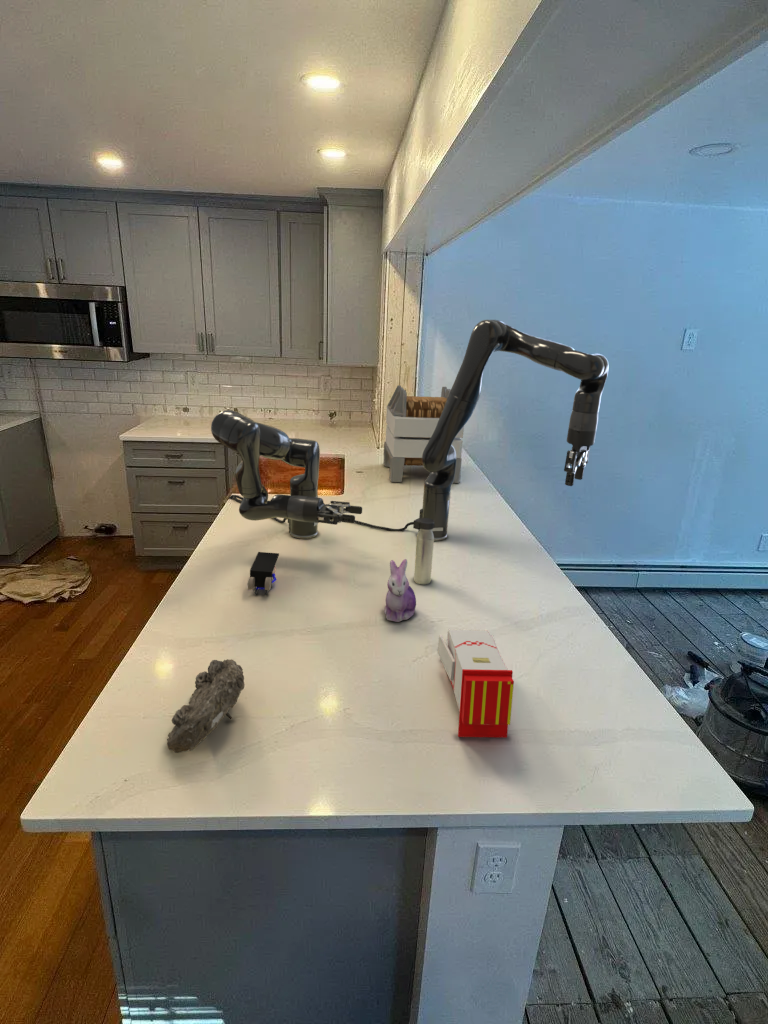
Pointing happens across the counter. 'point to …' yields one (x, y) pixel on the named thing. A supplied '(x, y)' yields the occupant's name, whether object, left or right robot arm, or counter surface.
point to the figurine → (399, 594)
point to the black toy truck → (263, 572)
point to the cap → (426, 523)
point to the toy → (478, 682)
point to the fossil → (206, 705)
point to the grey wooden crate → (414, 431)
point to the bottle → (423, 556)
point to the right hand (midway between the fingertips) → (573, 482)
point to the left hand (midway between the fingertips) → (358, 514)
